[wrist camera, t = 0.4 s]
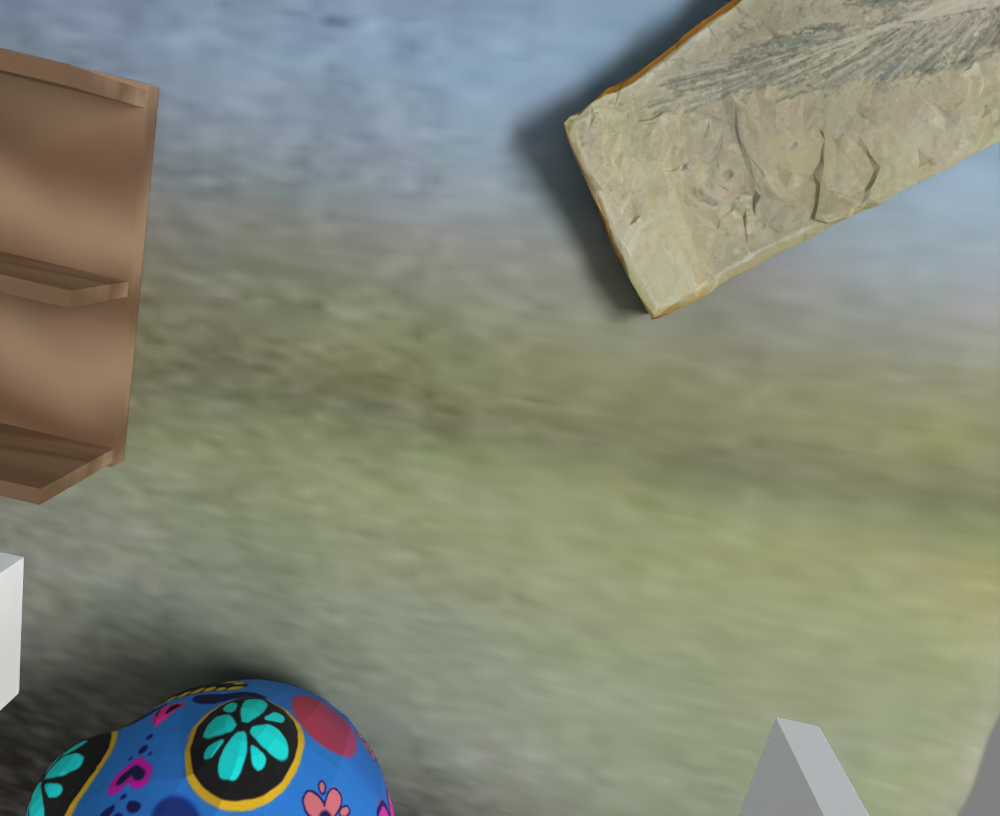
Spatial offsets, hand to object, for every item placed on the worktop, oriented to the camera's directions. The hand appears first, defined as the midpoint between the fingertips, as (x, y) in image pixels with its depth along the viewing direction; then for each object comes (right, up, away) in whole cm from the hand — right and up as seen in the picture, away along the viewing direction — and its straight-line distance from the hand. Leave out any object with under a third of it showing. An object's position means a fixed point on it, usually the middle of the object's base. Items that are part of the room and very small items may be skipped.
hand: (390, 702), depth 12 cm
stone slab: (+20, +22, +22) cm, 37 cm away
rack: (-23, +13, +25) cm, 36 cm away
